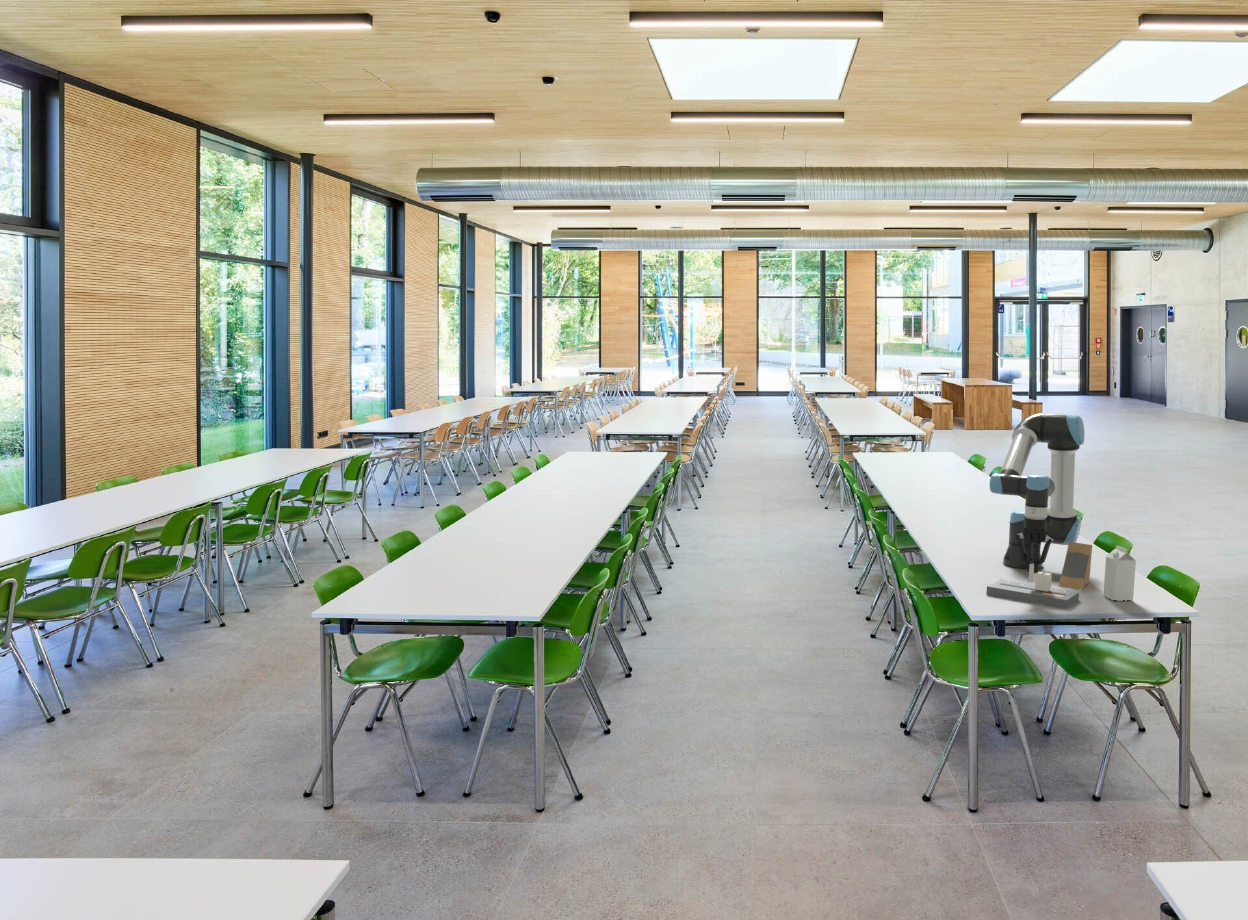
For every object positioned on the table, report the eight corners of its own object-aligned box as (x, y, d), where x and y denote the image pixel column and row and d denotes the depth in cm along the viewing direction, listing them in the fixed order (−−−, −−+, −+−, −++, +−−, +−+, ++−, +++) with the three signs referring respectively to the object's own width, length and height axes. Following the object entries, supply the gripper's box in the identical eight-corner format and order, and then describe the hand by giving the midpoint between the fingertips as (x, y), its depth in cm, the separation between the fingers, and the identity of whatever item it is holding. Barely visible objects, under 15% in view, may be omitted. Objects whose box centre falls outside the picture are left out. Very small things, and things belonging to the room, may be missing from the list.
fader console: (1000, 586, 359) (1000, 578, 358) (1078, 600, 340) (1079, 591, 340) (986, 594, 348) (986, 585, 348) (1066, 608, 330) (1067, 599, 329)
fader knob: (1038, 587, 344) (1039, 571, 343) (1050, 589, 341) (1051, 573, 341) (1034, 589, 341) (1035, 573, 341) (1047, 591, 339) (1048, 575, 338)
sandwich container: (1057, 586, 359) (1059, 548, 357) (1066, 578, 372) (1068, 541, 370) (1081, 590, 354) (1084, 551, 352) (1090, 582, 367) (1092, 544, 365)
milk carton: (1122, 595, 346) (1125, 545, 344) (1133, 601, 339) (1136, 549, 337) (1103, 596, 346) (1106, 545, 344) (1113, 601, 339) (1117, 549, 336)
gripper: (1013, 516, 342) (1010, 580, 345) (1051, 521, 334) (1047, 586, 337) (1020, 513, 348) (1017, 576, 351) (1057, 518, 339) (1053, 582, 342)
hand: (1031, 581), depth 344 cm, fingers closed
